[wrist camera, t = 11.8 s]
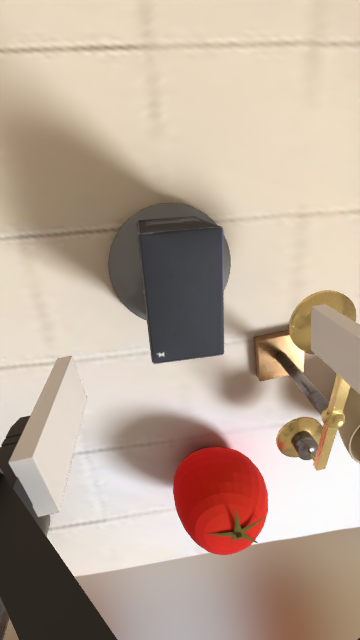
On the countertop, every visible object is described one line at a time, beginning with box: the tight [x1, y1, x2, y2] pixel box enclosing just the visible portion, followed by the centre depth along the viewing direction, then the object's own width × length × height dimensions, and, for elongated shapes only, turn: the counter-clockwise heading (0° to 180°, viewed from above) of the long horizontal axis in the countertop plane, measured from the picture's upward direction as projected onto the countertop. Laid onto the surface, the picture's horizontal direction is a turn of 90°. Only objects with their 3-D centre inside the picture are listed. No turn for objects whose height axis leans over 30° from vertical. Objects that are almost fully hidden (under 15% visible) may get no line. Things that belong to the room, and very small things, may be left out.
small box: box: [136, 216, 224, 364], centre depth 27 cm, size 11×6×10 cm, turn 3°
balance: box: [254, 290, 356, 471], centre depth 33 cm, size 6×24×15 cm, turn 9°
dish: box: [109, 203, 231, 320], centre depth 33 cm, size 13×13×1 cm
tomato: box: [173, 447, 268, 555], centre depth 41 cm, size 12×14×11 cm
